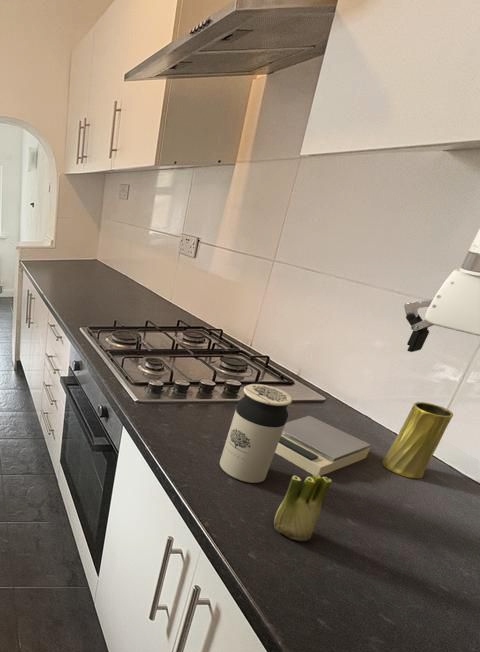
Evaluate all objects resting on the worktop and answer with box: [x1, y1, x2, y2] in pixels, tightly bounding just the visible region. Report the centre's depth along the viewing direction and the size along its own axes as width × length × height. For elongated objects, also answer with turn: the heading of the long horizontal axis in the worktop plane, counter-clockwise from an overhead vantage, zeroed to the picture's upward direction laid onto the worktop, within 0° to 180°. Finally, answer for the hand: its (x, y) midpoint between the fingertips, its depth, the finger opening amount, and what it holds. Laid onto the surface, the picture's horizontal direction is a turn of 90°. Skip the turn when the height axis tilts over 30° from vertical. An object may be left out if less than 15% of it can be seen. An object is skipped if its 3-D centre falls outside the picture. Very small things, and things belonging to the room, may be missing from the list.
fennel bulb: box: [273, 474, 333, 542], centre depth 67 cm, size 6×5×12 cm
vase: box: [381, 401, 454, 480], centre depth 81 cm, size 6×6×14 cm
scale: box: [274, 434, 371, 477], centre depth 89 cm, size 16×12×3 cm
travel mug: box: [219, 383, 293, 484], centre depth 80 cm, size 8×8×18 cm
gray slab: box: [282, 415, 371, 462], centre depth 89 cm, size 12×12×1 cm
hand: (448, 360), depth 74 cm, fingers open, 9 cm apart
